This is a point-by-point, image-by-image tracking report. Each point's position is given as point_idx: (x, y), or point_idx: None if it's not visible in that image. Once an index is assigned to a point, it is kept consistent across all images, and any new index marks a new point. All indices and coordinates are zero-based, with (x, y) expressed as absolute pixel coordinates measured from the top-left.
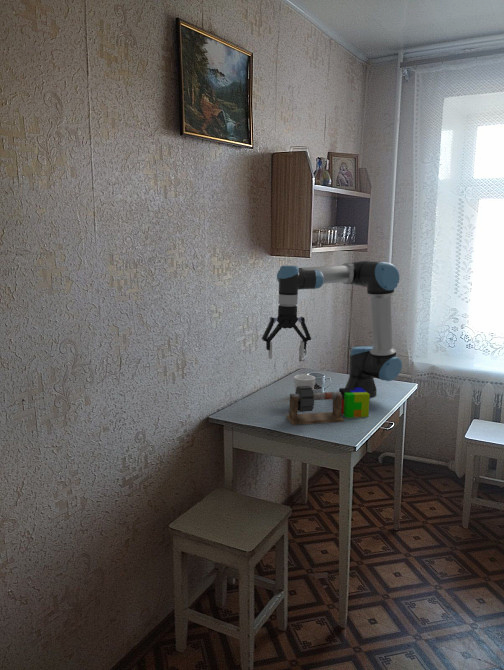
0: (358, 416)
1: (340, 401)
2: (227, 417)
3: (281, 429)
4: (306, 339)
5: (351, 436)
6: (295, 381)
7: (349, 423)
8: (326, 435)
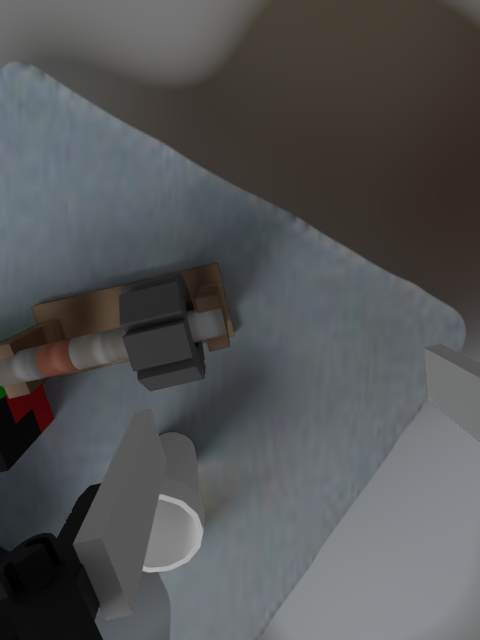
0: None
1: (11, 338)
2: (424, 318)
3: (257, 216)
4: (14, 599)
5: (11, 156)
6: (198, 502)
7: (16, 290)
8: (102, 163)
